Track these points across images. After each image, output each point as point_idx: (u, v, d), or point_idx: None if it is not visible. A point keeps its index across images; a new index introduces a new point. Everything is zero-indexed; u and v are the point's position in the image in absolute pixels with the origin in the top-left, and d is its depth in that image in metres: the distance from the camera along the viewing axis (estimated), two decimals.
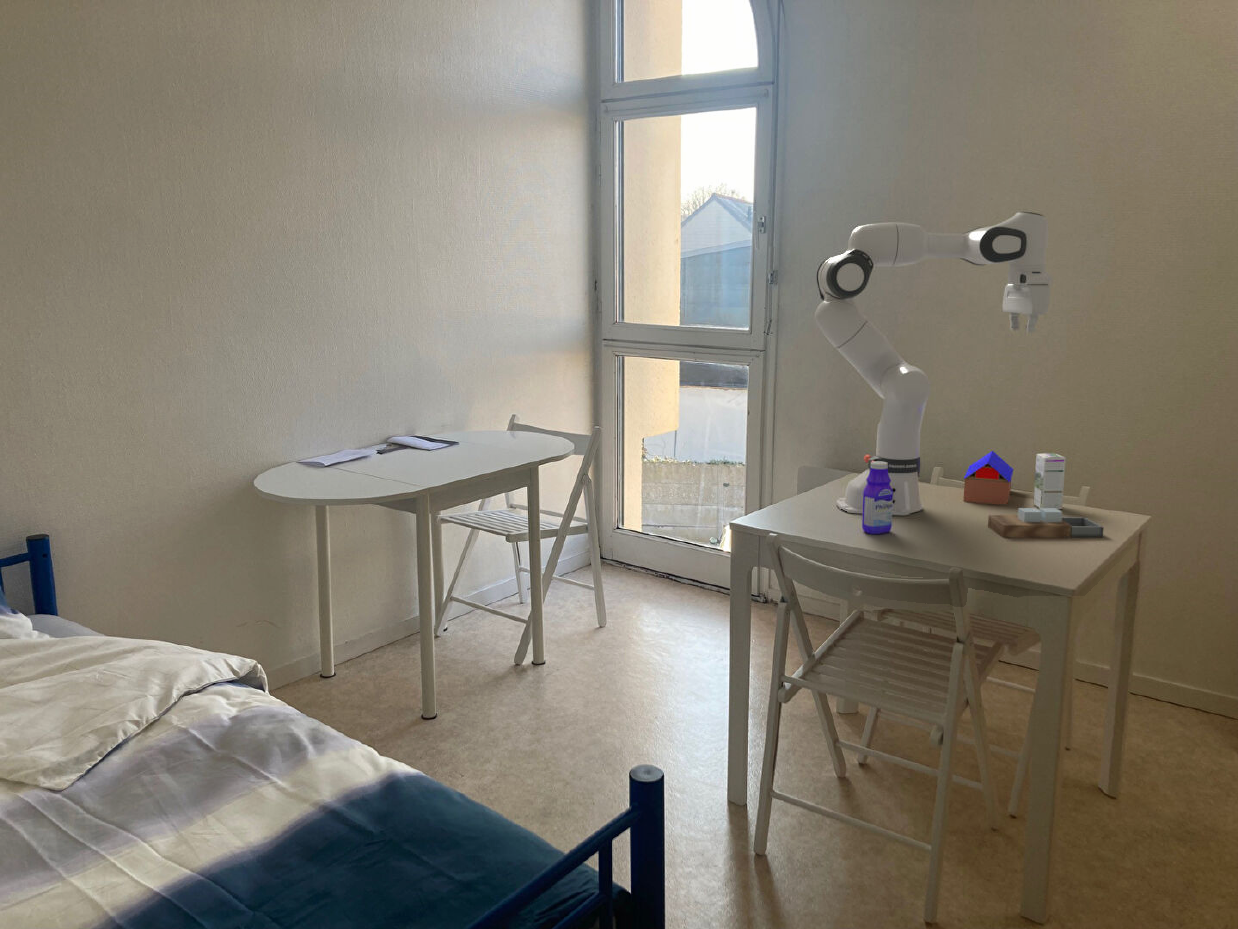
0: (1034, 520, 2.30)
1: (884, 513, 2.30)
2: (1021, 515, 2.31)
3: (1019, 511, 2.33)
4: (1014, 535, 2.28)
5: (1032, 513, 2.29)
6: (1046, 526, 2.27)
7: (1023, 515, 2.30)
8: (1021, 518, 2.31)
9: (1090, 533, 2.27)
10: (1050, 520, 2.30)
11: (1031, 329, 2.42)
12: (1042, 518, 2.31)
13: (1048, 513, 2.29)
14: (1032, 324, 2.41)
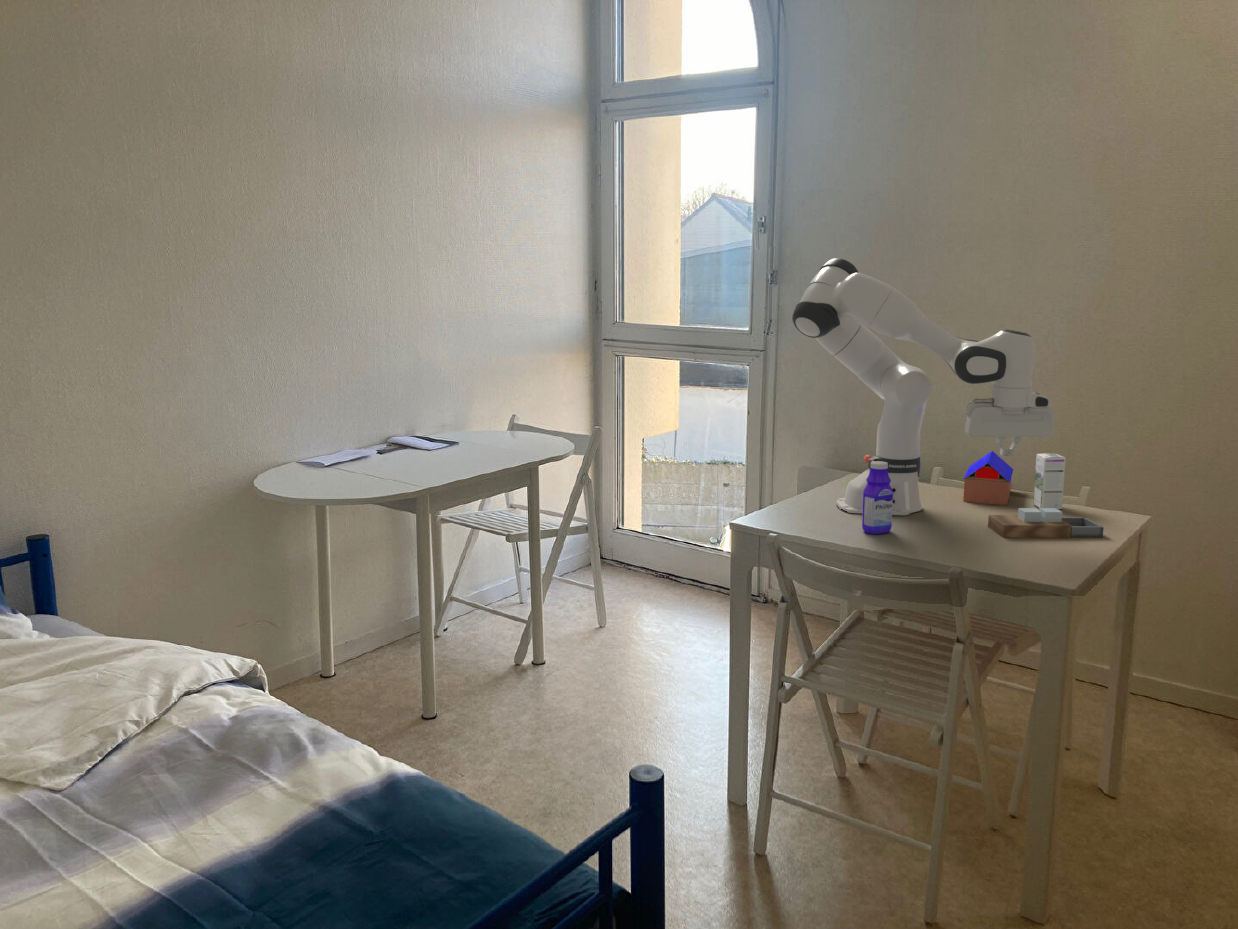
0: (1034, 520, 2.30)
1: (884, 513, 2.30)
2: (1021, 515, 2.31)
3: (1019, 511, 2.33)
4: (1014, 535, 2.28)
5: (1032, 513, 2.29)
6: (1046, 526, 2.27)
7: (1023, 515, 2.30)
8: (1021, 518, 2.31)
9: (1090, 533, 2.27)
10: (1050, 520, 2.30)
11: None
12: (1042, 518, 2.31)
13: (1048, 513, 2.29)
14: None
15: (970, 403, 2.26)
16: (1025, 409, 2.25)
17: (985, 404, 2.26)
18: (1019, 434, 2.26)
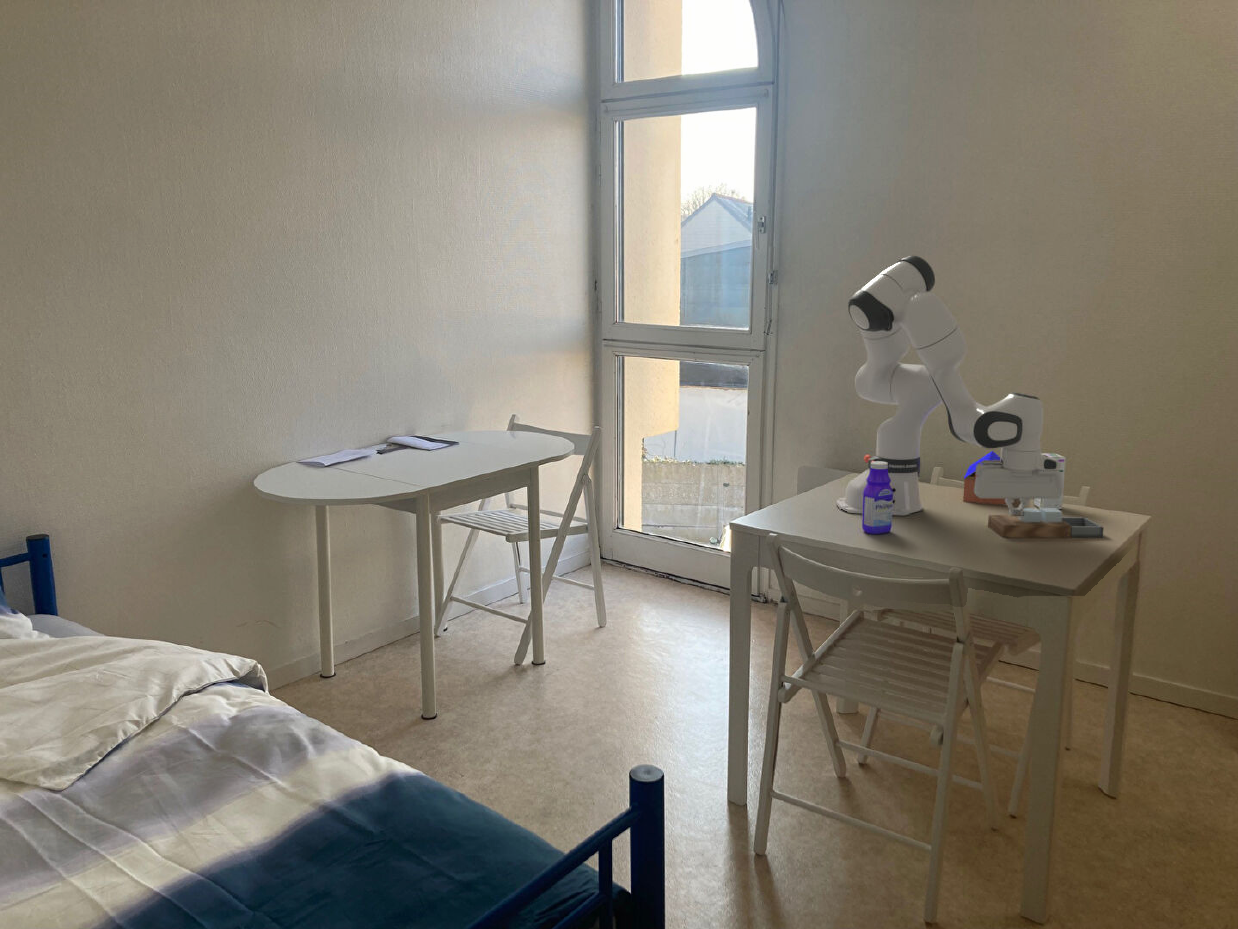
0: (1034, 520, 2.30)
1: (884, 513, 2.30)
2: None
3: None
4: (1014, 535, 2.28)
5: (1032, 513, 2.29)
6: (1046, 526, 2.27)
7: (1023, 515, 2.30)
8: (1021, 518, 2.31)
9: (1090, 533, 2.27)
10: (1050, 520, 2.30)
11: None
12: (1042, 518, 2.31)
13: (1048, 513, 2.29)
14: None
15: (979, 465, 2.29)
16: (1034, 471, 2.27)
17: (994, 466, 2.29)
18: (1028, 495, 2.29)
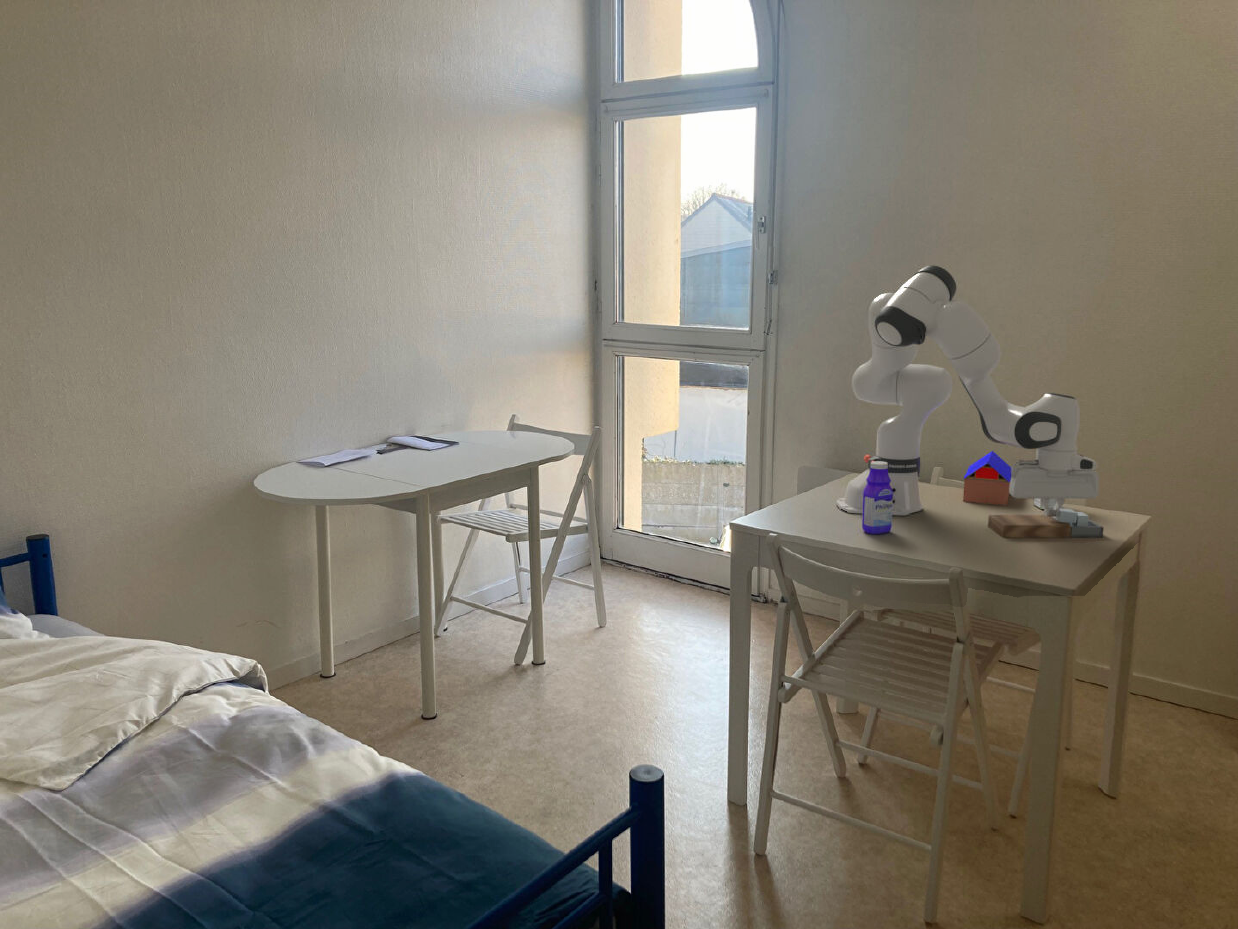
0: (1070, 520, 2.30)
1: (884, 513, 2.30)
2: None
3: None
4: (1014, 535, 2.28)
5: (1068, 513, 2.29)
6: (1046, 526, 2.27)
7: (1059, 515, 2.30)
8: (1056, 518, 2.31)
9: (1090, 533, 2.27)
10: (1079, 520, 2.29)
11: None
12: None
13: (1087, 518, 2.29)
14: None
15: (1015, 465, 2.29)
16: (1070, 471, 2.27)
17: (1030, 466, 2.29)
18: (1063, 495, 2.28)
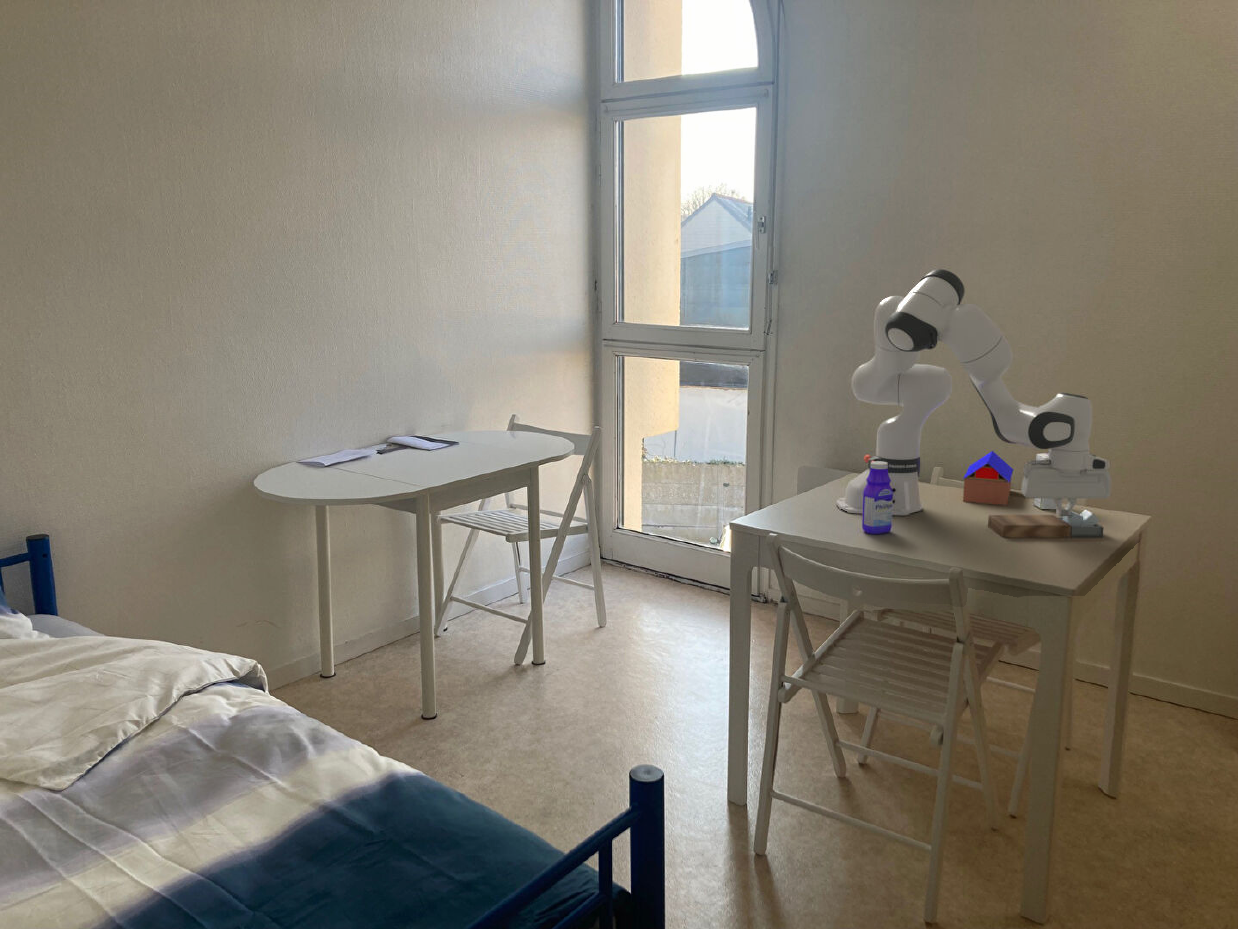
0: (1079, 521, 2.30)
1: (884, 513, 2.30)
2: None
3: None
4: (1014, 535, 2.28)
5: (1072, 521, 2.30)
6: (1046, 526, 2.27)
7: None
8: None
9: (1090, 533, 2.27)
10: (1090, 518, 2.29)
11: None
12: (1091, 513, 2.31)
13: (1096, 521, 2.29)
14: None
15: (1027, 465, 2.29)
16: (1082, 471, 2.27)
17: (1042, 466, 2.29)
18: (1076, 495, 2.28)
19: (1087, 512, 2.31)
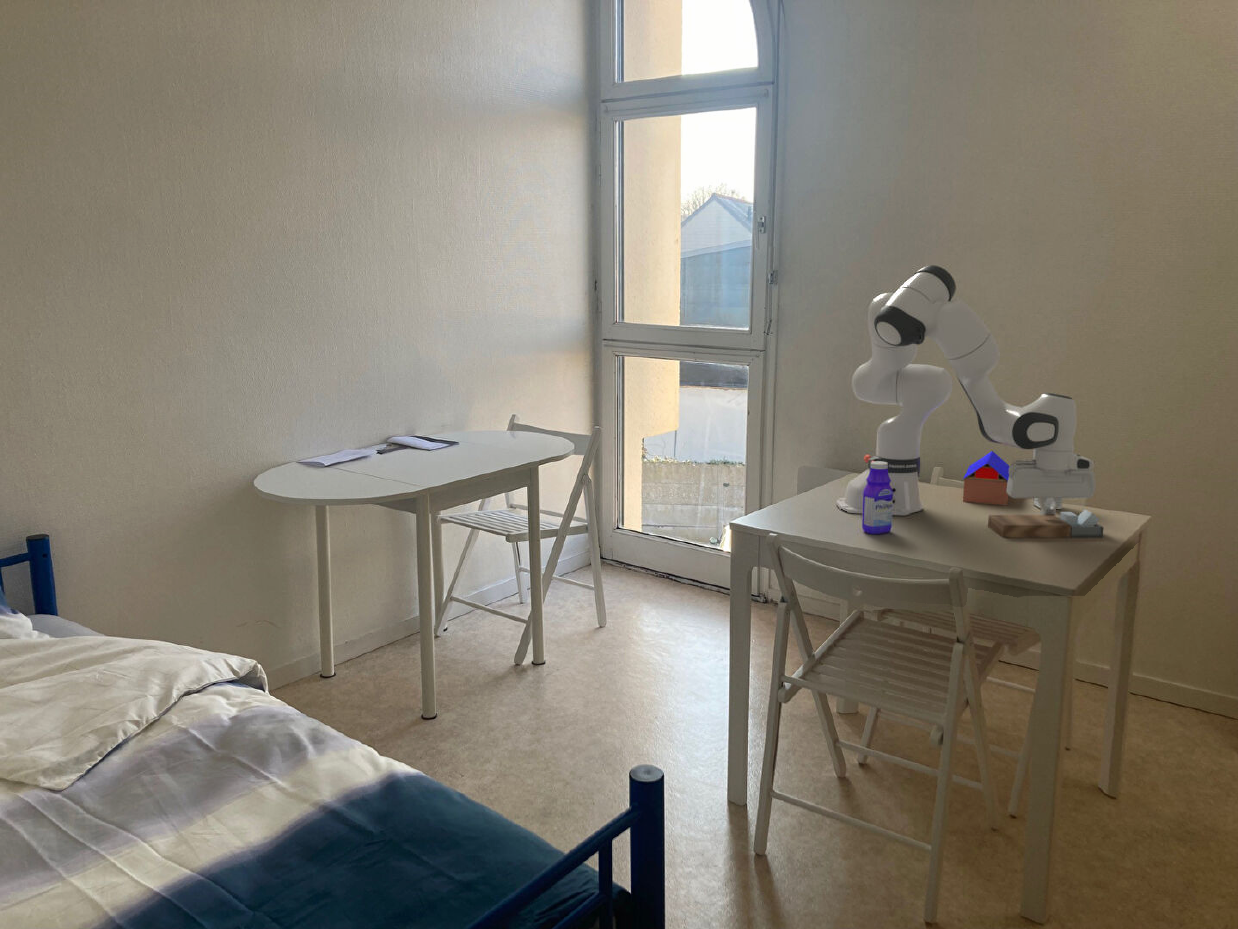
0: (1075, 521, 2.30)
1: (884, 513, 2.30)
2: None
3: None
4: (1014, 535, 2.28)
5: None
6: (1046, 526, 2.27)
7: None
8: None
9: (1090, 533, 2.27)
10: (1090, 518, 2.29)
11: None
12: (1091, 513, 2.31)
13: (1096, 520, 2.29)
14: None
15: (1012, 465, 2.30)
16: (1066, 471, 2.28)
17: (1027, 466, 2.29)
18: (1060, 495, 2.29)
19: (1087, 512, 2.31)
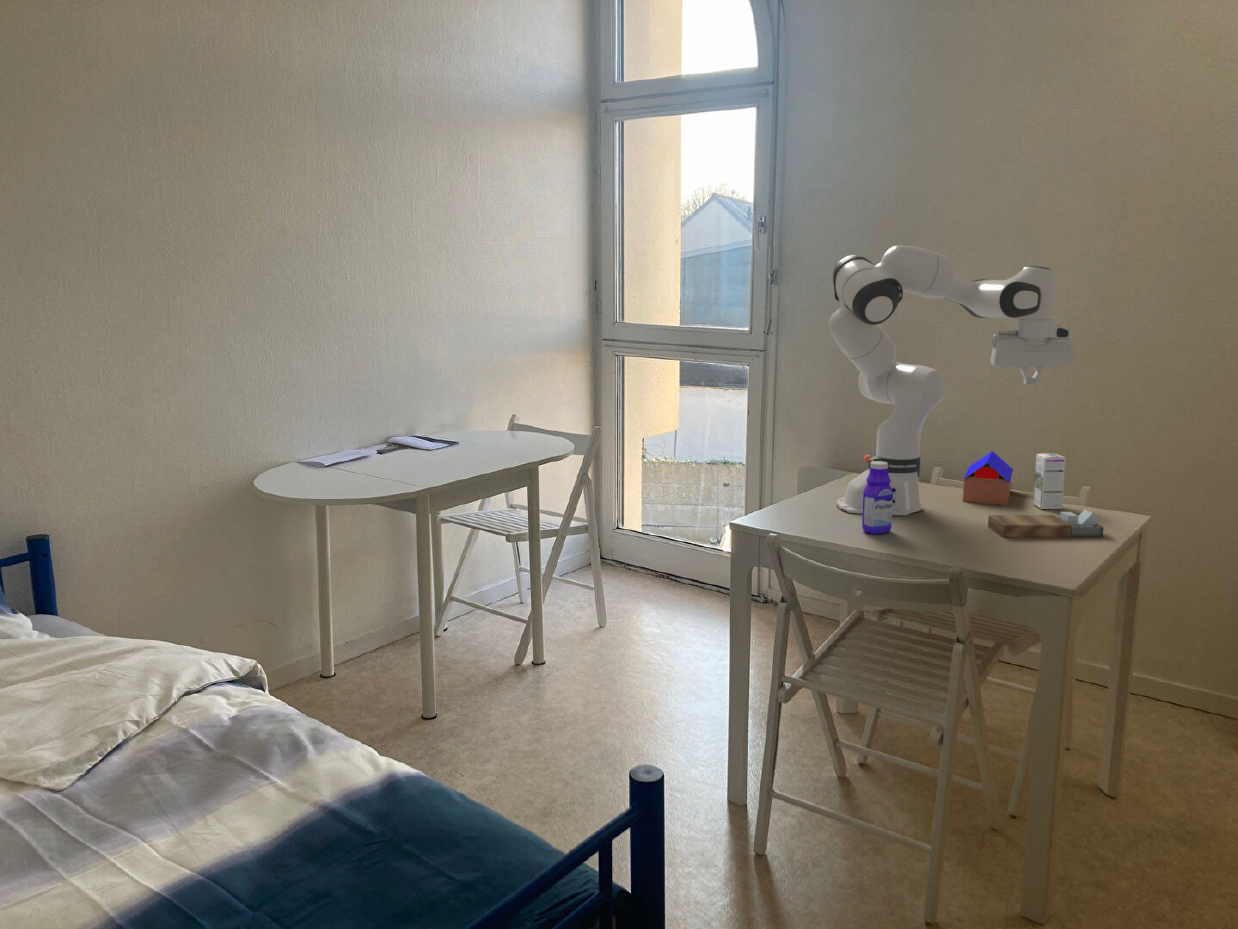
0: (1075, 521, 2.30)
1: (884, 513, 2.30)
2: None
3: None
4: (1014, 535, 2.28)
5: None
6: (1046, 526, 2.27)
7: None
8: None
9: (1090, 533, 2.27)
10: (1090, 518, 2.29)
11: None
12: (1091, 513, 2.31)
13: (1096, 520, 2.29)
14: None
15: (995, 335, 2.44)
16: (1047, 340, 2.42)
17: (1009, 336, 2.44)
18: (1041, 363, 2.44)
19: (1087, 512, 2.31)
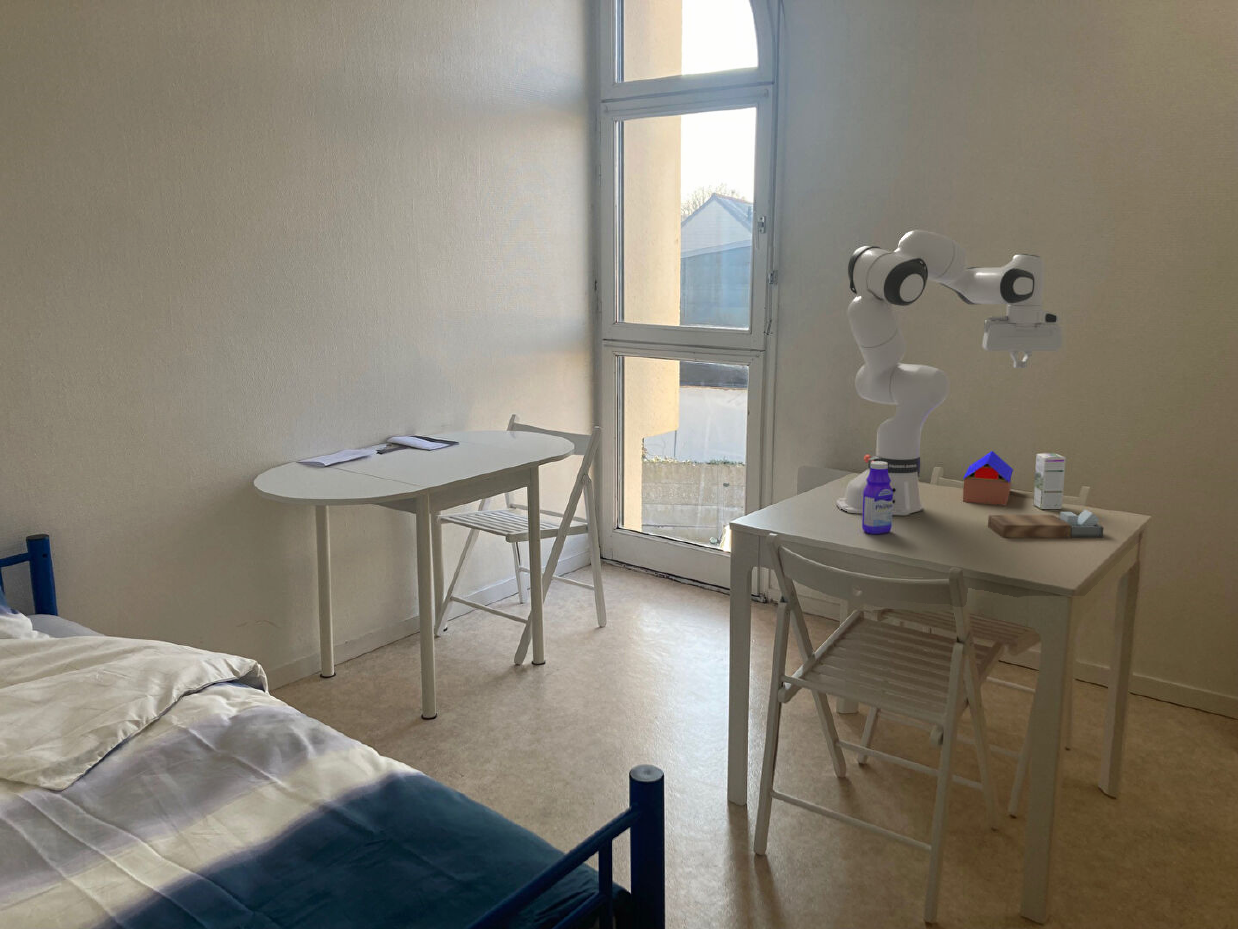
0: (1075, 521, 2.30)
1: (884, 513, 2.30)
2: None
3: None
4: (1014, 535, 2.28)
5: None
6: (1046, 526, 2.27)
7: None
8: None
9: (1090, 533, 2.27)
10: (1090, 518, 2.29)
11: None
12: (1091, 513, 2.31)
13: (1096, 520, 2.29)
14: None
15: (987, 320, 2.55)
16: (1036, 325, 2.53)
17: (1000, 321, 2.55)
18: (1031, 348, 2.55)
19: (1087, 512, 2.31)
